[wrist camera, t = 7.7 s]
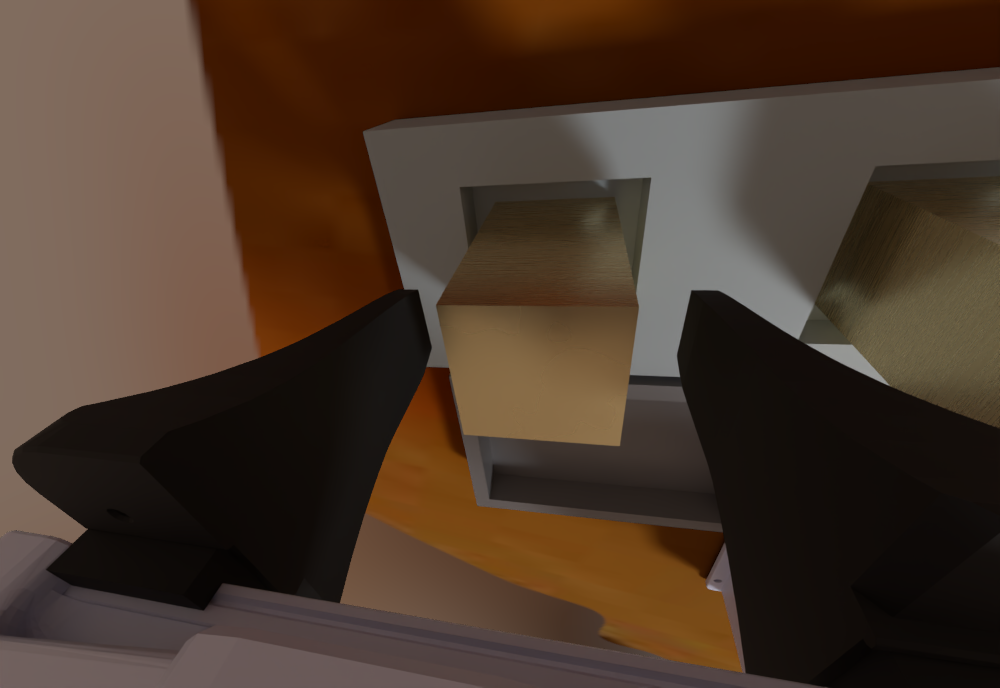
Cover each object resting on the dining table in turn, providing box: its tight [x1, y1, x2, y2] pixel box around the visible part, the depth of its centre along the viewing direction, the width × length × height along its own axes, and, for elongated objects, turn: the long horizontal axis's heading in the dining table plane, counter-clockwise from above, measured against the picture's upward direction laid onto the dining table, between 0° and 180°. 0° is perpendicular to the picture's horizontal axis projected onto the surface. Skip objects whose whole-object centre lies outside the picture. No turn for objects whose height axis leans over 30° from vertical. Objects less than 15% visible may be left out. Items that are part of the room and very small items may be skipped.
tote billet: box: [436, 197, 639, 446], centre depth 12 cm, size 4×4×7 cm
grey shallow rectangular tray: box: [449, 373, 723, 532], centre depth 19 cm, size 10×14×2 cm
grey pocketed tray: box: [363, 67, 1000, 386], centre depth 13 cm, size 9×22×2 cm, turn 95°
